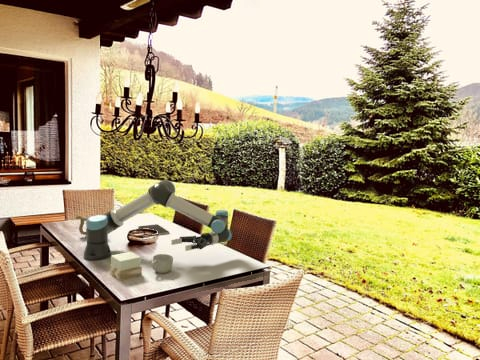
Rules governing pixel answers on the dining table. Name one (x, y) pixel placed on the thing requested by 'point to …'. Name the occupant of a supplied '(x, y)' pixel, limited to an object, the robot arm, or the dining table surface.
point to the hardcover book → (156, 228)
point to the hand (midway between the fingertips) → (178, 245)
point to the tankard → (82, 225)
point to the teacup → (162, 263)
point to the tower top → (125, 261)
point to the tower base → (125, 272)
